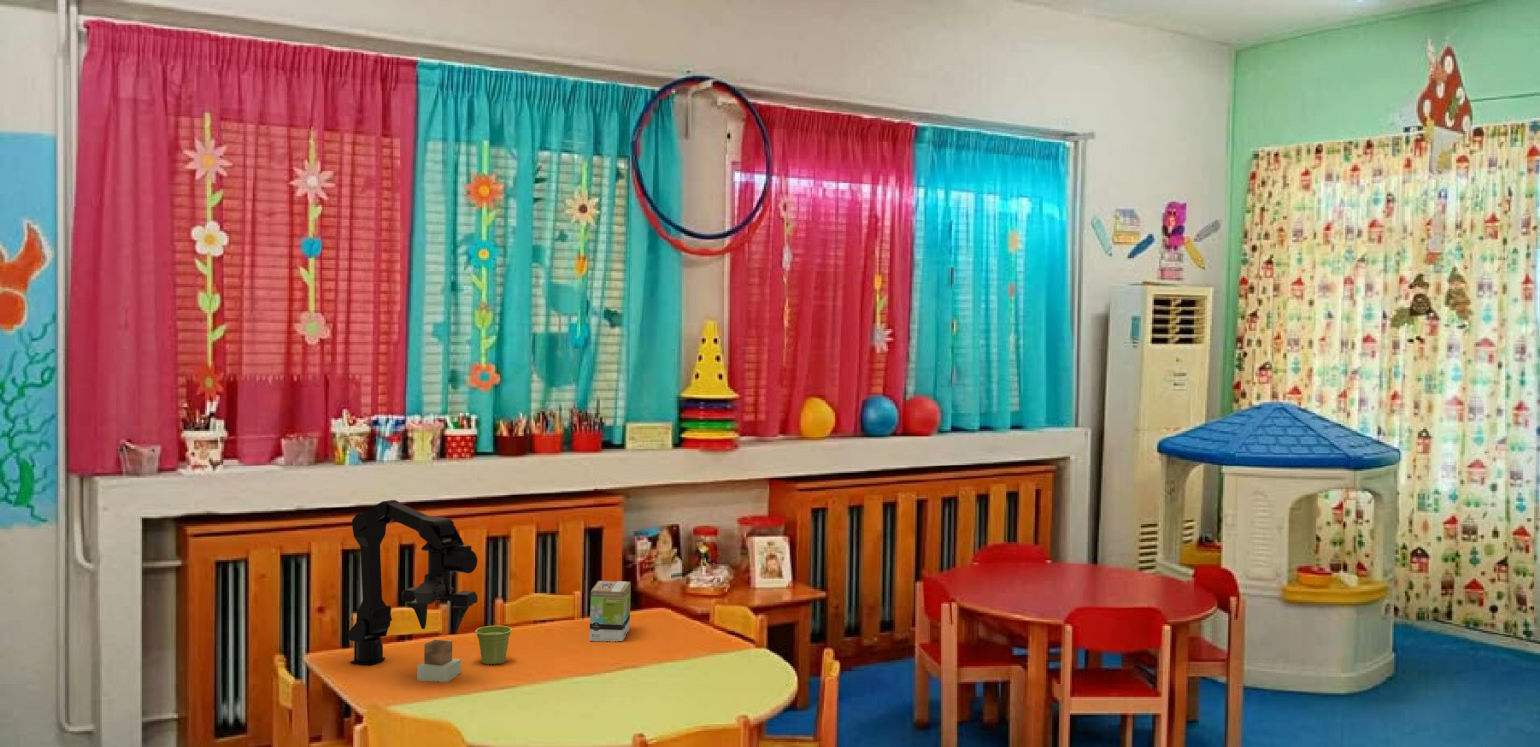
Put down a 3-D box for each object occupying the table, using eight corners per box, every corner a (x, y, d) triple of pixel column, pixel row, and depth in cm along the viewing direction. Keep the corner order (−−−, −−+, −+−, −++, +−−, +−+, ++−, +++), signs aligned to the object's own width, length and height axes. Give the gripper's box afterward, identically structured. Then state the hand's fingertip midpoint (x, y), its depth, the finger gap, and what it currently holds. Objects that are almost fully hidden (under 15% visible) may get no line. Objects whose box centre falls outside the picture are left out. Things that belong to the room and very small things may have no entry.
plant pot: (503, 668, 333) (503, 635, 333) (469, 665, 335) (469, 632, 335) (517, 659, 343) (517, 626, 342) (484, 656, 344) (484, 624, 344)
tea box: (624, 642, 362) (624, 590, 361) (588, 642, 362) (589, 590, 361) (630, 630, 377) (631, 580, 376) (596, 629, 377) (597, 579, 376)
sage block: (417, 681, 321) (417, 665, 321) (431, 672, 329) (431, 657, 329) (446, 683, 320) (447, 667, 319) (460, 675, 327) (460, 659, 327)
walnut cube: (424, 664, 323) (424, 644, 322) (434, 659, 327) (434, 639, 327) (441, 665, 321) (442, 646, 321) (452, 660, 326) (452, 641, 326)
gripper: (389, 572, 318) (389, 634, 319) (455, 577, 313) (455, 640, 314) (414, 564, 329) (413, 624, 330) (478, 569, 324) (478, 630, 324)
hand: (439, 630), depth 324 cm, fingers open, 9 cm apart
